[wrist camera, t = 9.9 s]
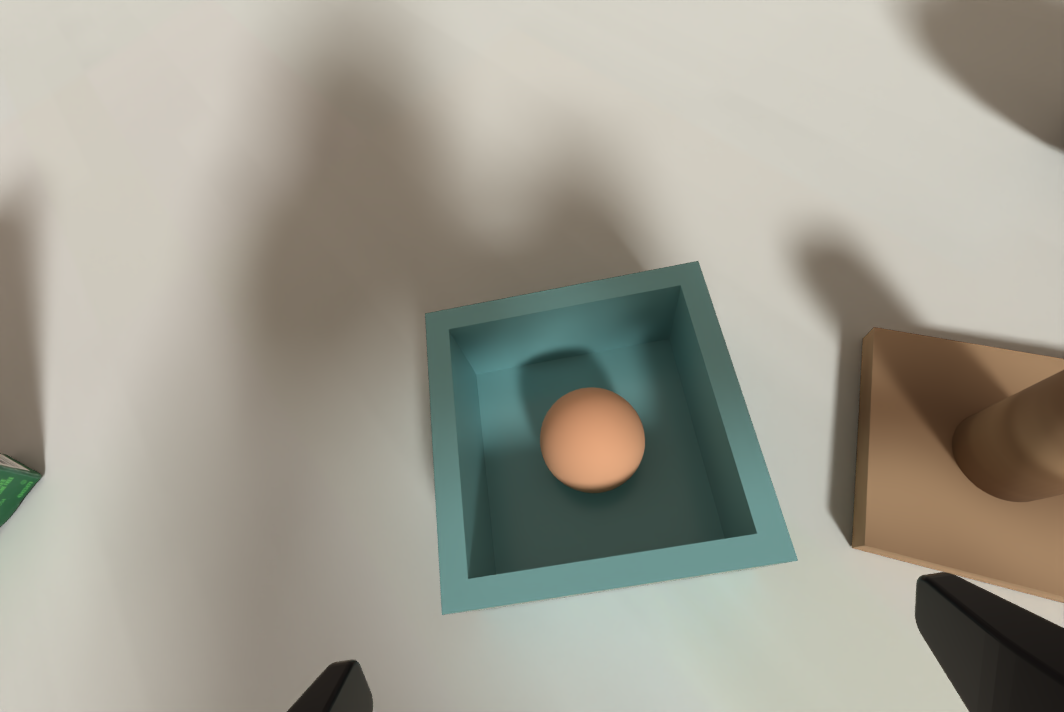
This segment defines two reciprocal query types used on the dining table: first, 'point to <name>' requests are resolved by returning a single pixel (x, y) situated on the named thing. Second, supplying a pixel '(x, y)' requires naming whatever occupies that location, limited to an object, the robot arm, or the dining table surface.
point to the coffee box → (14, 485)
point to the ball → (592, 440)
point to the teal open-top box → (608, 517)
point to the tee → (962, 460)
